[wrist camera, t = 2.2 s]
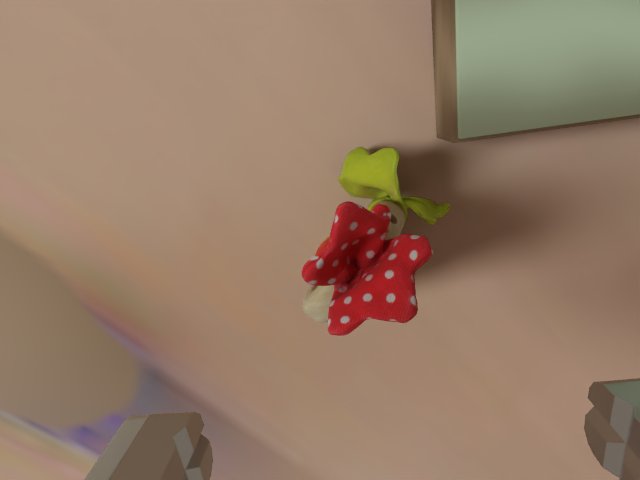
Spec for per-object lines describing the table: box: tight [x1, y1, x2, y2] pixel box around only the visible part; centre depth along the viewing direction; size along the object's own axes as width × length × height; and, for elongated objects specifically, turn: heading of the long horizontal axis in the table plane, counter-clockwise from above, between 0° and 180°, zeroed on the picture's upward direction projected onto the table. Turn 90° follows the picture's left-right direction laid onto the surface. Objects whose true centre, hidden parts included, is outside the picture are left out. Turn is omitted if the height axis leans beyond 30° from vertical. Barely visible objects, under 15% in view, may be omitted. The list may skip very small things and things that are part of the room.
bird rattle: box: [302, 147, 451, 336], centre depth 18 cm, size 6×11×9 cm
